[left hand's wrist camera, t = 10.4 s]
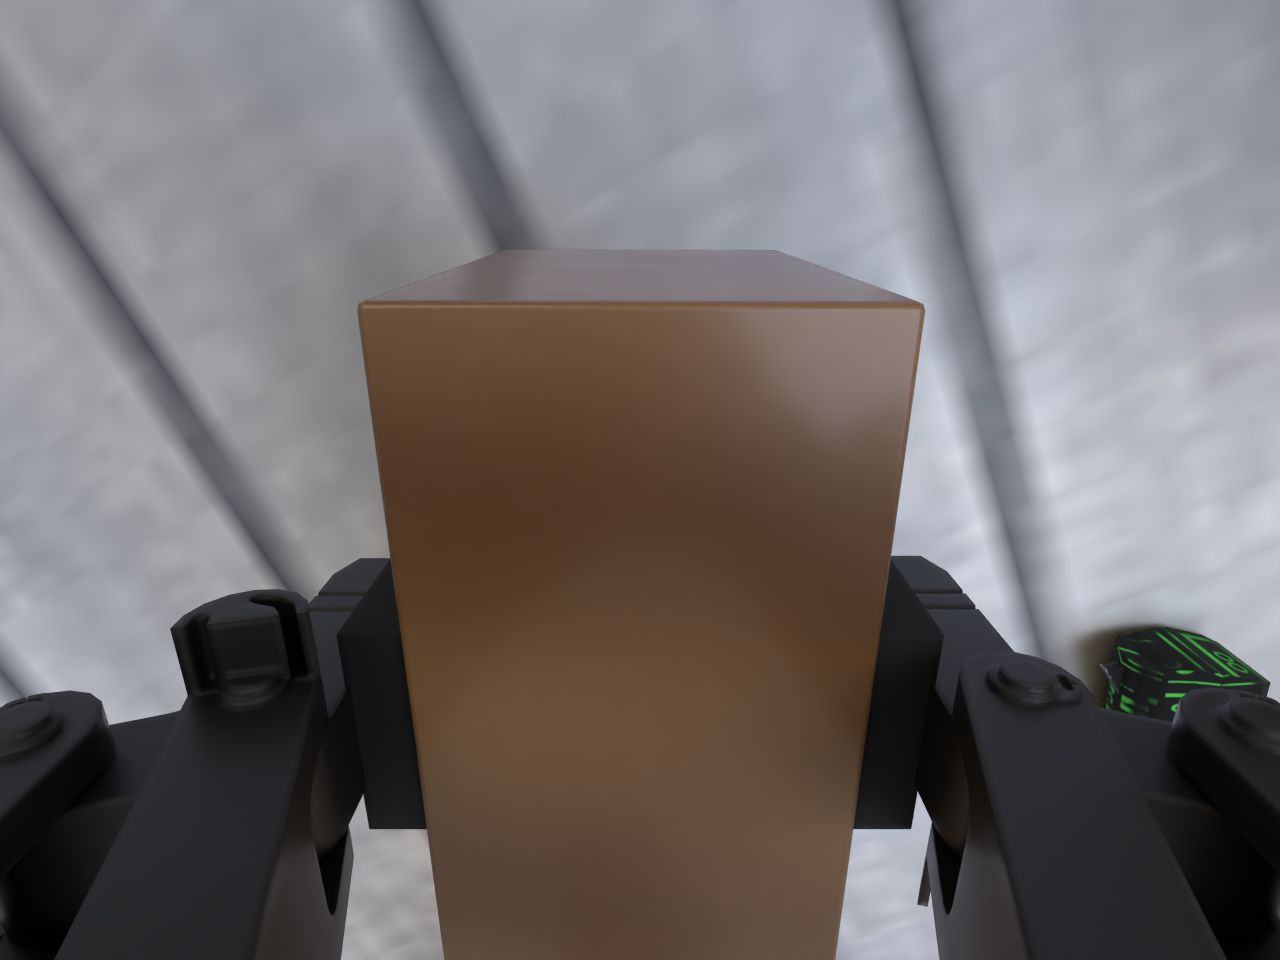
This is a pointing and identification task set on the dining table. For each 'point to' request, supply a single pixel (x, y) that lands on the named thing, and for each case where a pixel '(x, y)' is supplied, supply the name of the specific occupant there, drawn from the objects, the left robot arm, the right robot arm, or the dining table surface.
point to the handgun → (1171, 671)
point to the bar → (640, 589)
